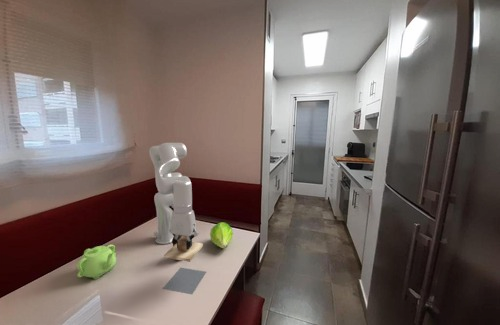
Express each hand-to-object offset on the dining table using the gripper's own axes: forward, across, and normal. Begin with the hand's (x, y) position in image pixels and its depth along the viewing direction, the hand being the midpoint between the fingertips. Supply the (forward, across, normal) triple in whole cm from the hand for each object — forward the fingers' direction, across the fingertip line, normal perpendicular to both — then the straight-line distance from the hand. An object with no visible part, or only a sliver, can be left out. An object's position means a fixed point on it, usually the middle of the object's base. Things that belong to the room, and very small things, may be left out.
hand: (184, 246), depth 88 cm
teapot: (+17, -42, -4) cm, 46 cm away
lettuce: (+17, +6, +30) cm, 36 cm away
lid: (+2, 0, 0) cm, 2 cm away
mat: (+16, 0, 0) cm, 17 cm away
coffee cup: (+17, -10, +14) cm, 24 cm away
